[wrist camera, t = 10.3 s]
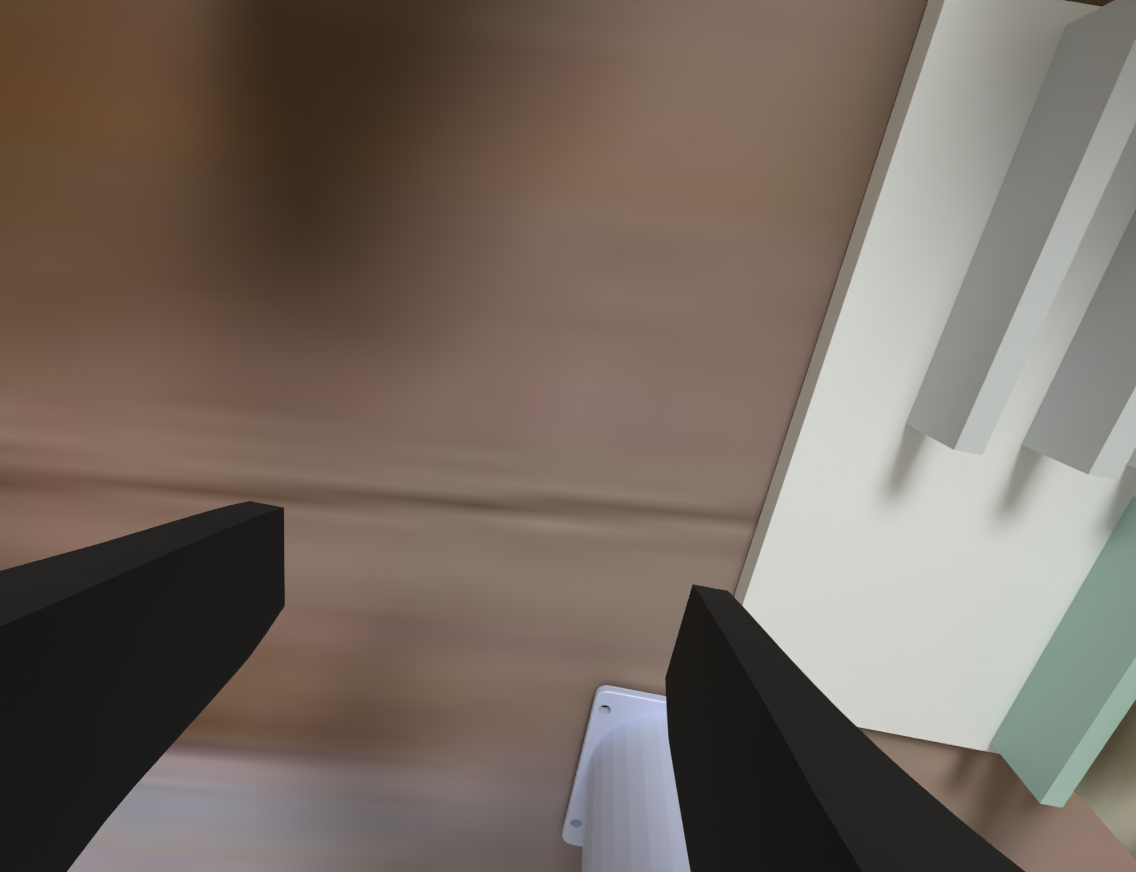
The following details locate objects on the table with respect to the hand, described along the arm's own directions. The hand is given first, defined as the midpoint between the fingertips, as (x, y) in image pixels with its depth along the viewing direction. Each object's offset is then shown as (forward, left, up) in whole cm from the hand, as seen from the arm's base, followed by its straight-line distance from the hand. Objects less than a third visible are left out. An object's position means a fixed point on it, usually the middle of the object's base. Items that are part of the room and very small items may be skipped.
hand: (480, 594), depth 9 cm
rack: (+2, -17, -10) cm, 20 cm away
